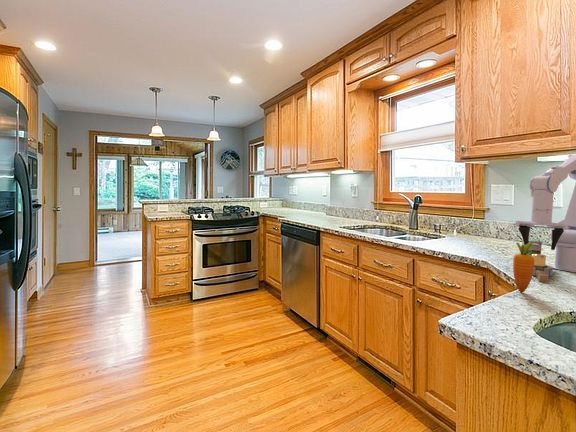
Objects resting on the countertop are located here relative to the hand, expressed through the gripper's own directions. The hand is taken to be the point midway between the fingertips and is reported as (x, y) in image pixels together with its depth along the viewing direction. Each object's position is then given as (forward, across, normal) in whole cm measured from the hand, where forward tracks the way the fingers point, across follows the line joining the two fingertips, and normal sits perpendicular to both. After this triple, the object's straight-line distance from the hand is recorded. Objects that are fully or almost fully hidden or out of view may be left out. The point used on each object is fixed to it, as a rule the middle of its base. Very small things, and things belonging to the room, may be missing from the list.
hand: (539, 248), depth 116 cm
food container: (+10, -4, +9) cm, 14 cm away
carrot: (+10, +3, -30) cm, 32 cm away
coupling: (+9, -2, -3) cm, 10 cm away
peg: (+9, 0, 0) cm, 9 cm away
